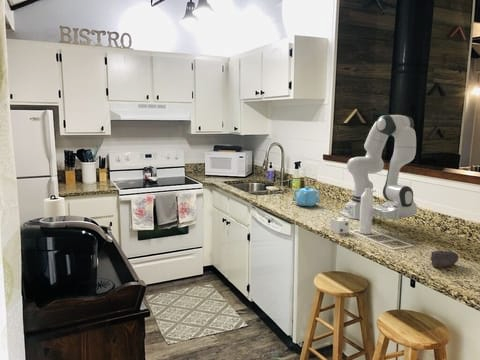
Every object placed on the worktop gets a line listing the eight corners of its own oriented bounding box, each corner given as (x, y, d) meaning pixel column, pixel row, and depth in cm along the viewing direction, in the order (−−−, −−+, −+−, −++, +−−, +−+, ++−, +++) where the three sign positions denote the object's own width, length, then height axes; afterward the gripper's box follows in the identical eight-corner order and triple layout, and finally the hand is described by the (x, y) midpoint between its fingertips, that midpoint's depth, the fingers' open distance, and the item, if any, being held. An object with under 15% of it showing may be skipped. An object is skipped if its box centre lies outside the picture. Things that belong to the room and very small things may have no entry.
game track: (349, 231, 211) (349, 231, 211) (368, 229, 217) (368, 228, 217) (393, 249, 183) (393, 249, 183) (414, 246, 189) (414, 245, 189)
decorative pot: (322, 207, 270) (323, 188, 267) (302, 208, 264) (303, 189, 262) (310, 202, 285) (311, 184, 282) (291, 203, 279) (292, 185, 277)
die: (330, 230, 213) (331, 218, 212) (340, 229, 216) (341, 216, 215) (338, 234, 207) (339, 221, 206) (348, 232, 210) (349, 220, 208)
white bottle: (356, 231, 212) (358, 187, 207) (365, 230, 214) (368, 186, 210) (366, 236, 204) (369, 190, 199) (376, 234, 206) (379, 189, 202)
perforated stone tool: (452, 262, 169) (454, 247, 168) (462, 266, 164) (464, 251, 163) (425, 265, 165) (426, 250, 164) (434, 270, 160) (436, 254, 159)
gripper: (377, 200, 220) (356, 201, 216) (401, 209, 200) (378, 210, 197) (377, 211, 221) (355, 212, 218) (400, 220, 202) (377, 221, 198)
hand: (366, 211), depth 207 cm, fingers open, 8 cm apart
